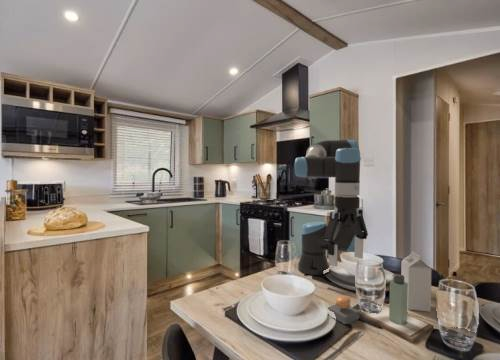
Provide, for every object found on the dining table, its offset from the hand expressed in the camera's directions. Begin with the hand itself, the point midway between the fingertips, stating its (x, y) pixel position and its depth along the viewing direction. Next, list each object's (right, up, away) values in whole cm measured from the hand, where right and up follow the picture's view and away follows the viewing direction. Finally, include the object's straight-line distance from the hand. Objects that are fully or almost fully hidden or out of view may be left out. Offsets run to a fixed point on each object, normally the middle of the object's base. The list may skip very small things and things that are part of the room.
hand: (346, 261), depth 86 cm
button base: (-1, -18, 0) cm, 18 cm away
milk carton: (+28, -19, +8) cm, 34 cm away
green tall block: (+15, -17, -4) cm, 23 cm away
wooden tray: (+14, -19, -2) cm, 23 cm away
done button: (-1, -14, 0) cm, 14 cm away
